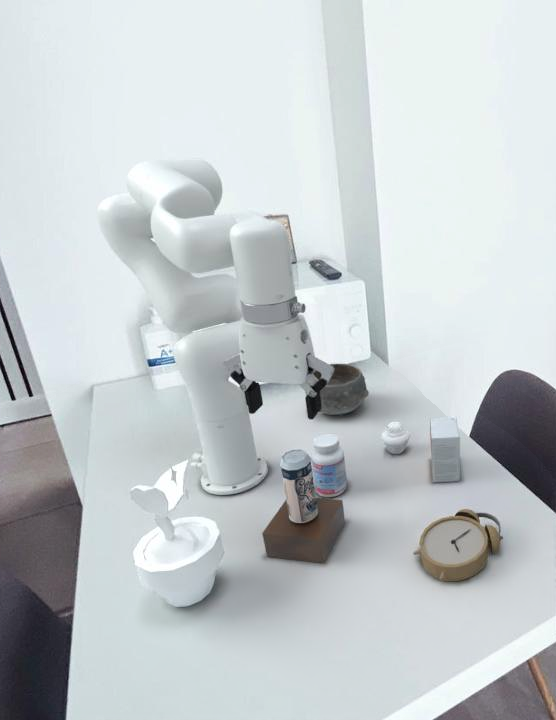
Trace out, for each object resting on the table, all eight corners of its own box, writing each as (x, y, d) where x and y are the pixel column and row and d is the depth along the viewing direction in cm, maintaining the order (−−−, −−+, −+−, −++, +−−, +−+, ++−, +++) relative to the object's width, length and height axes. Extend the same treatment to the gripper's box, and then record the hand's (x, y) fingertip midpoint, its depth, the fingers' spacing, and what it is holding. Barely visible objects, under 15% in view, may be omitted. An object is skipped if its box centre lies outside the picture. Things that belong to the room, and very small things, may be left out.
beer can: (310, 527, 90) (301, 466, 85) (284, 523, 90) (273, 463, 86) (323, 508, 94) (315, 449, 89) (297, 505, 95) (288, 446, 90)
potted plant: (202, 628, 78) (162, 484, 68) (130, 617, 79) (80, 475, 69) (249, 563, 89) (221, 431, 79) (185, 554, 91) (149, 425, 81)
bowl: (312, 398, 142) (307, 363, 138) (372, 394, 143) (369, 360, 139) (303, 425, 129) (298, 387, 125) (369, 421, 131) (366, 384, 127)
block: (266, 556, 90) (261, 533, 88) (292, 517, 99) (289, 494, 97) (323, 563, 89) (320, 539, 87) (345, 522, 98) (342, 499, 96)
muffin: (379, 446, 121) (377, 418, 118) (406, 440, 123) (404, 413, 120) (386, 460, 116) (384, 432, 113) (414, 454, 118) (412, 426, 115)
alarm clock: (404, 540, 89) (471, 490, 97) (409, 561, 92) (475, 510, 99) (447, 580, 81) (516, 522, 89) (452, 601, 84) (519, 543, 92)
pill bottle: (309, 493, 106) (302, 444, 101) (329, 476, 111) (323, 428, 106) (334, 501, 103) (328, 451, 99) (353, 484, 108) (348, 435, 104)
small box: (431, 460, 116) (429, 417, 111) (457, 459, 116) (456, 415, 112) (432, 483, 108) (430, 438, 104) (460, 481, 109) (459, 436, 104)
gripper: (336, 304, 80) (346, 405, 88) (228, 297, 83) (246, 396, 90) (316, 322, 74) (328, 430, 81) (199, 314, 76) (220, 419, 83)
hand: (285, 412), depth 85 cm, fingers open, 9 cm apart
